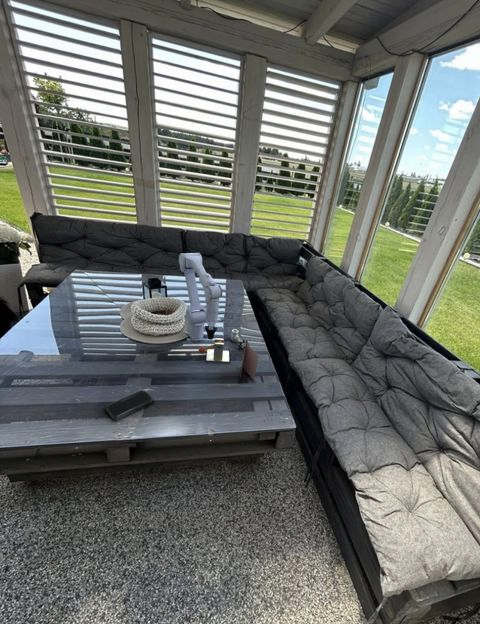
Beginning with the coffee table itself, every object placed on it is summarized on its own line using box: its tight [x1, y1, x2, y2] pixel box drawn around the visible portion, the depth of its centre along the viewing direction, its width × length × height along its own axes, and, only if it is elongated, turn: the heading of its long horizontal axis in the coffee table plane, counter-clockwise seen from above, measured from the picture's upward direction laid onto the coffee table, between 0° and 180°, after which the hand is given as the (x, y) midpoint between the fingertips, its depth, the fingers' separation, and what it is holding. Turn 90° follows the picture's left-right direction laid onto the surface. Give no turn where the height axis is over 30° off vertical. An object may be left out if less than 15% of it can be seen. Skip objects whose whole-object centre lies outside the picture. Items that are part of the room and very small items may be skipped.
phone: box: [104, 390, 153, 421], centre depth 110 cm, size 8×1×15 cm
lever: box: [198, 340, 222, 354], centre depth 141 cm, size 12×3×3 cm, turn 97°
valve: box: [230, 328, 250, 351], centre depth 155 cm, size 7×7×12 cm
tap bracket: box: [206, 337, 230, 363], centre depth 142 cm, size 11×9×10 cm
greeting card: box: [239, 342, 260, 381], centre depth 132 cm, size 11×7×15 cm, turn 178°
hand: (210, 335), depth 141 cm, fingers open, 7 cm apart
